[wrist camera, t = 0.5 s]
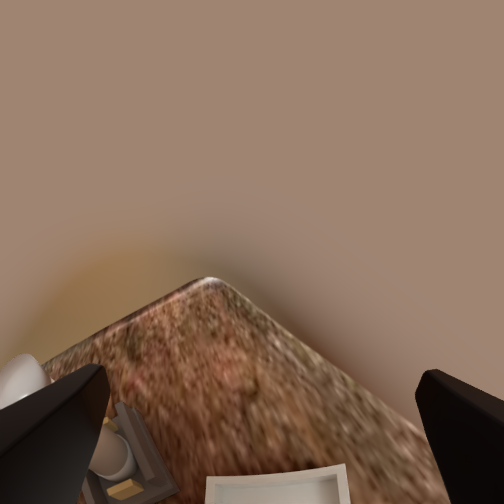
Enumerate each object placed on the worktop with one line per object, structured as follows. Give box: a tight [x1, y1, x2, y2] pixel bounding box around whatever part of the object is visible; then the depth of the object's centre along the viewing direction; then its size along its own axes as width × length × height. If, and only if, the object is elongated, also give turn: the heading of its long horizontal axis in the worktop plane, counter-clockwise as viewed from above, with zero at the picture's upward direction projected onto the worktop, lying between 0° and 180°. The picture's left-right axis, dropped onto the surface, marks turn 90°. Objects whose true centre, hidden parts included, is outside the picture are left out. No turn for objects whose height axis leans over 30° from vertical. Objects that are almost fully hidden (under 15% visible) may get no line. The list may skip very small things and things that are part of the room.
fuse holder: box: [82, 401, 180, 504], centre depth 19 cm, size 9×7×3 cm
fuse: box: [0, 354, 138, 483], centre depth 16 cm, size 4×4×12 cm
